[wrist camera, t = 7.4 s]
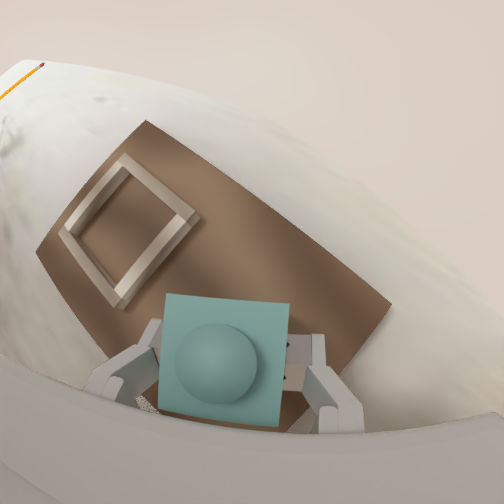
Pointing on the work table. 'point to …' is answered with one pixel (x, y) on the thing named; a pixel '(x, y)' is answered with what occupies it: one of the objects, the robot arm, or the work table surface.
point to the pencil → (21, 80)
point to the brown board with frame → (195, 257)
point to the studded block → (223, 359)
